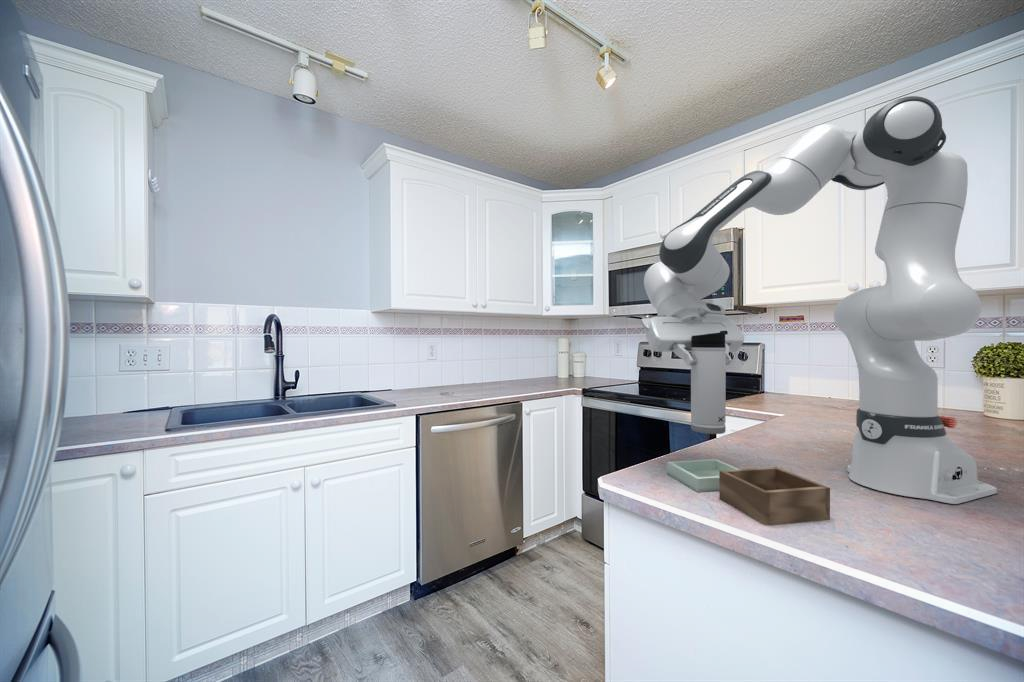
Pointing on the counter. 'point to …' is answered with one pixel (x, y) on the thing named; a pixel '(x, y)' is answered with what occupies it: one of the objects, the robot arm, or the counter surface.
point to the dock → (698, 473)
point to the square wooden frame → (774, 495)
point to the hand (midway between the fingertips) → (710, 363)
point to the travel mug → (708, 383)
